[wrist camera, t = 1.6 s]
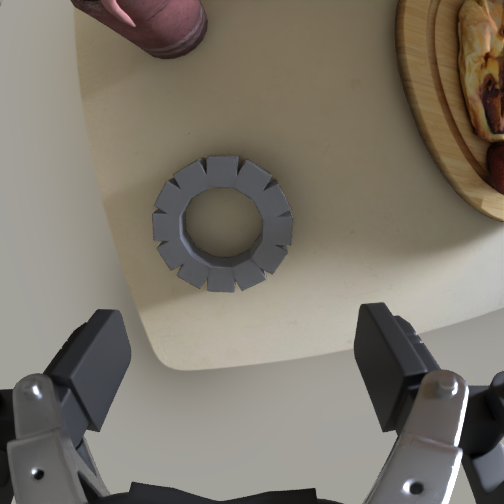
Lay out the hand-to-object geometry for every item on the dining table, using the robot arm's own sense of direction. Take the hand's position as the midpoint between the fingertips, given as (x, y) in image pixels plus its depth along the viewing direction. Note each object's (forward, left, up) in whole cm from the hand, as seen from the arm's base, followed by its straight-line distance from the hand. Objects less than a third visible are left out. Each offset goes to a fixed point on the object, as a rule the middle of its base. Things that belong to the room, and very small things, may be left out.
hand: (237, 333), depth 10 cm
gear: (-1, -2, -19) cm, 19 cm away
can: (-14, +10, -19) cm, 25 cm away
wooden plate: (+16, +29, -19) cm, 38 cm away
